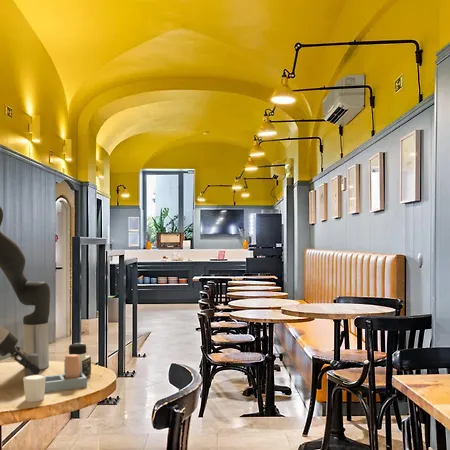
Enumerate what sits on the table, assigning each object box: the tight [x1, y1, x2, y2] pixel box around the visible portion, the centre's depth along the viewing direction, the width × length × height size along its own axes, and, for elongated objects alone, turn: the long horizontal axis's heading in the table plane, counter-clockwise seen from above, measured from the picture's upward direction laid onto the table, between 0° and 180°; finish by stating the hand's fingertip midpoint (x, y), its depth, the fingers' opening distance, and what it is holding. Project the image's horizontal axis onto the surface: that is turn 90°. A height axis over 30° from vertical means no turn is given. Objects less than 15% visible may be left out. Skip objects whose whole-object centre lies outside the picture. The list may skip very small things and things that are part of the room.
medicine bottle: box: [63, 342, 92, 378], centre depth 208 cm, size 7×7×12 cm
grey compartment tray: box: [45, 354, 88, 393], centre depth 196 cm, size 9×15×10 cm, turn 114°
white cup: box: [22, 374, 47, 403], centre depth 182 cm, size 7×7×7 cm
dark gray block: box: [24, 354, 40, 377], centre depth 200 cm, size 5×5×10 cm
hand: (37, 370), depth 201 cm, fingers closed on dark gray block, 4 cm apart
